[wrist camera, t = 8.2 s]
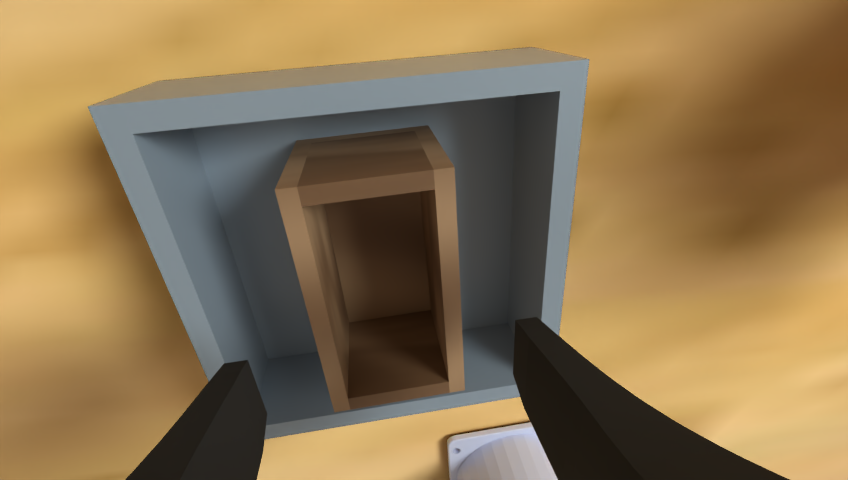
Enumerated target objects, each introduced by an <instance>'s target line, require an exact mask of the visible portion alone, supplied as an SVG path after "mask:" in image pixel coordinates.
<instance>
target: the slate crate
mask: <svg viewBox="0 0 848 480" xmlns="http://www.w3.org/2000/svg"><path fill="white" fill-rule="evenodd" d="M588 67H589V59H586V58H581V57H577V56H572V55H567V54H563V53H558V52H553V51H549V50H544V49H539V48H535V47H528V48H517V49H506V50H495V51H484V52H472V53H461V54H450V55H439V56H428V57H417V58H406V59H395V60H384V61H373V62H362V63H351V64H340V65H329V66H318V67H307V68H296V69H285V70H274V71H263V72H252V73H241V74H229V75H218V76H207V77H196V78H185V79H174V80H163V81H156V82H154V83H151V84H148V85H145V86H143V87H140V88H137V89H135V90H132V91H129V92H126V93H124V94H121V95H118V96H115V97H113V98H110V99H107V100H104V101H102V102H99V103H96V104H93V105H91V106H88V108H89V111H90V113H91V115H92V118H93V120H94V122H95V124H96V127H97V129H98V131H99V133H100V136H101V138H102V140H103V143H104V145H105V147H106V149H107V152H108V154H109V156H110V158H111V161H112V163H113V165H114V167H115V170H116V172H117V174H118V177H119V179H120V181H121V183H122V186H123V188H124V190H125V192H126V195H127V197H128V199H129V202H130V204H131V206H132V208H133V211H134V213H135V215H136V217H137V220H138V222H139V224H140V227H141V229H142V231H143V233H144V236H145V238H146V240H147V242H148V245H149V247H150V249H151V252H152V254H153V256H154V258H155V261H156V263H157V265H158V267H159V270H160V272H161V274H162V277H163V279H164V281H165V283H166V286H167V288H168V290H169V292H170V295H171V297H172V299H173V302H174V304H175V306H176V308H177V311H178V313H179V315H180V317H181V320H182V322H183V324H184V326H185V329H186V331H187V333H188V336H189V338H190V340H191V342H192V345H193V347H194V349H195V351H196V354H197V356H198V358H199V361H200V363H201V365H202V367H203V370H204V372H205V374H206V376H207V379H208V381H210V380H211V378H212V377H213V376H214V375H215V374H216V372H217V371H218V370H219V369H220V368H221V366H222V365H223V364H224V363H230V362H237V361H243V360H248V362H249V364H250V367H251V370H252V373H253V375H254V378H255V381H256V384H257V387H258V389H259V392H260V395H261V398H262V400H263V403H264V406H265V409H266V411H267V421H266V430H265V439H269V438H275V437H281V436H287V435H293V434H299V433H305V432H311V431H317V430H323V429H329V428H335V427H341V426H347V425H353V424H359V423H365V422H371V421H377V420H383V419H389V418H395V417H401V416H407V415H413V414H419V413H425V412H431V411H437V410H443V409H449V408H455V407H461V406H467V405H473V404H479V403H485V402H491V401H497V400H503V399H509V398H515V397H520V394H519V391H518V388H517V385H516V382H515V379H514V376H513V361H514V338H515V320H519V319H526V318H532V317H537V318H539V319H540V320H541V321H542V322H543V323H545V324H546V325H547V326H548V327H549V328H550V329H551V330H553V331H554V332H555V333H556V334H557V335H558V336H559V330H560V321H561V312H562V303H563V294H564V285H565V276H566V266H567V257H568V248H569V239H570V230H571V221H572V212H573V203H574V194H575V185H576V176H577V167H578V157H579V148H580V139H581V130H582V121H583V112H584V103H585V94H586V85H587V76H588ZM425 125H428V126H429V127H430V129H431V130H432V132H433V134H434V135H435V137H436V138H437V140H438V142H439V143H440V145H441V146H442V148H443V150H444V151H445V153H446V154H447V156H448V157H449V159H450V161H451V162H452V164H453V165H454V167H455V187H456V208H457V230H458V251H459V273H460V294H461V316H462V337H463V358H464V380H465V390H463V391H458V392H452V393H446V394H440V395H434V396H428V397H422V398H417V399H411V400H405V401H399V402H393V403H387V404H381V405H376V406H370V407H364V408H358V409H352V410H346V411H340V412H335V413H334V409H333V405H332V402H331V398H330V394H329V390H328V387H327V383H326V379H325V376H324V372H323V368H322V364H321V361H320V357H319V353H318V349H317V346H316V342H315V338H314V335H313V331H312V327H311V323H310V320H309V316H308V312H307V308H306V305H305V301H304V297H303V294H302V290H301V286H300V282H299V279H298V275H297V271H296V267H295V264H294V260H293V256H292V253H291V249H290V245H289V241H288V238H287V234H286V230H285V226H284V223H283V219H282V215H281V212H280V208H279V204H278V200H277V197H276V193H275V188H276V185H277V183H278V181H279V179H280V176H281V174H282V172H283V170H284V168H285V165H286V163H287V161H288V159H289V156H290V154H291V152H292V150H293V147H294V145H295V143H296V141H297V140H305V139H313V138H322V137H330V136H339V135H348V134H356V133H365V132H374V131H382V130H391V129H399V128H408V127H417V126H425Z"/></svg>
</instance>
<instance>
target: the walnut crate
mask: <svg viewBox="0 0 848 480" xmlns="http://www.w3.org/2000/svg"><path fill="white" fill-rule="evenodd" d="M275 193H276V197H277V200H278V204H279V208H280V212H281V215H282V219H283V223H284V226H285V230H286V234H287V238H288V241H289V245H290V249H291V253H292V256H293V260H294V264H295V267H296V271H297V275H298V279H299V282H300V286H301V290H302V294H303V297H304V301H305V305H306V308H307V312H308V316H309V320H310V323H311V327H312V331H313V335H314V338H315V342H316V346H317V349H318V353H319V357H320V361H321V364H322V368H323V372H324V376H325V379H326V383H327V387H328V390H329V394H330V398H331V402H332V405H333V409H334V413H335V412H340V411H346V410H352V409H358V408H364V407H370V406H376V405H381V404H387V403H393V402H399V401H405V400H411V399H417V398H422V397H428V396H434V395H440V394H446V393H452V392H458V391H463V390H465V380H464V358H463V337H462V316H461V294H460V273H459V251H458V230H457V208H456V187H455V167H454V165H453V164H452V162H451V161H450V159H449V157H448V156H447V154H446V153H445V151H444V150H443V148H442V146H441V145H440V143H439V142H438V140H437V138H436V137H435V135H434V134H433V132H432V130H431V129H430V127H429V126H428V125H425V126H417V127H408V128H399V129H391V130H382V131H374V132H365V133H356V134H348V135H339V136H330V137H322V138H313V139H305V140H297V141H296V143H295V145H294V147H293V150H292V152H291V154H290V156H289V159H288V161H287V163H286V165H285V168H284V170H283V172H282V174H281V176H280V179H279V181H278V183H277V185H276V188H275Z"/></svg>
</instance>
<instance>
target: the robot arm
mask: <svg viewBox="0 0 848 480" xmlns="http://www.w3.org/2000/svg"><path fill="white" fill-rule="evenodd" d="M513 376H514V379H515V382H516V385H517V388H518V391H519V394H520V397H521V400H522V403H523V406H524V409H525V411H526V413H527V415H528V417H529V420H530V422H529V423H523V424H517V425H511V426H506V427H500V428H494V429H488V430H482V431H477V432H471V433H465V434H459V435H454V436H451V437H450V438H449V439H448V440H447V450H448V465H449V480H789V479H787V478H785V477H782V476H780V475H778V474H776V473H774V472H772V471H770V470H767V469H765V468H763V467H761V466H759V465H757V464H755V463H753V462H750V461H748V460H746V459H744V458H742V457H740V456H738V455H736V454H734V453H732V452H730V451H728V450H726V449H724V448H722V447H720V446H718V445H717V444H715V443H713V442H711V441H709V440H708V439H706V438H704V437H702V436H700V435H698V434H697V433H695V432H693V431H691V430H689V429H687V428H686V427H684V426H682V425H681V424H679V423H677V422H675V421H674V420H672V419H670V418H669V417H667V416H666V415H664V414H663V413H661V412H659V411H658V410H656V409H655V408H653V407H651V406H650V405H648V404H647V403H645V402H644V401H642V400H641V399H639V398H638V397H636V396H635V395H633V394H632V393H630V392H629V391H628V390H626V389H625V388H623V387H622V386H621V385H619V384H618V383H616V382H615V381H614V380H612V379H611V378H610V377H608V376H607V375H606V374H604V373H603V372H602V371H601V370H599V369H598V368H597V367H596V366H594V365H593V364H592V363H591V362H589V361H588V360H587V359H586V358H584V357H583V356H582V355H581V354H579V353H578V352H577V351H576V350H575V349H573V348H572V347H571V346H570V345H569V344H568V343H566V342H565V341H564V340H563V339H562V338H561V337H559V336H558V335H557V334H556V333H555V332H554V331H553V330H551V329H550V328H549V327H548V326H547V325H546V324H545V323H543V322H542V321H541V320H540V319H539V318H537V317H532V318H526V319H519V320H515V338H514V361H513ZM266 421H267V411H266V409H265V406H264V403H263V400H262V398H261V395H260V392H259V389H258V387H257V384H256V381H255V378H254V375H253V373H252V370H251V367H250V364H249V362H248V360H243V361H237V362H230V363H224V364H223V365H222V366H221V368H220V369H219V370H218V371H217V372H216V374H215V375H214V376H213V377H212V378H211V380H210V381H209V382H208V383H207V385H206V386H205V387H204V388H203V390H202V391H201V392H200V394H199V395H198V396H197V397H196V398H195V400H194V401H193V402H192V403H191V405H190V406H189V407H188V408H187V410H186V411H185V412H184V413H183V415H182V416H181V417H180V418H179V419H178V421H177V422H176V423H175V424H174V425H173V427H172V428H171V429H170V430H169V431H168V433H167V434H166V435H165V436H164V437H163V438H162V440H161V441H160V442H159V443H158V444H157V445H156V446H155V448H154V449H153V450H152V451H151V452H150V453H149V454H148V455H147V456H146V458H145V459H144V460H143V461H142V462H141V463H140V464H139V465H138V467H137V468H136V469H135V470H134V471H133V472H132V473H131V474H130V475H129V476H128V477H127V478H126V480H256V479H257V475H258V471H259V467H260V463H261V458H262V454H263V447H264V439H265V430H266Z"/></svg>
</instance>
